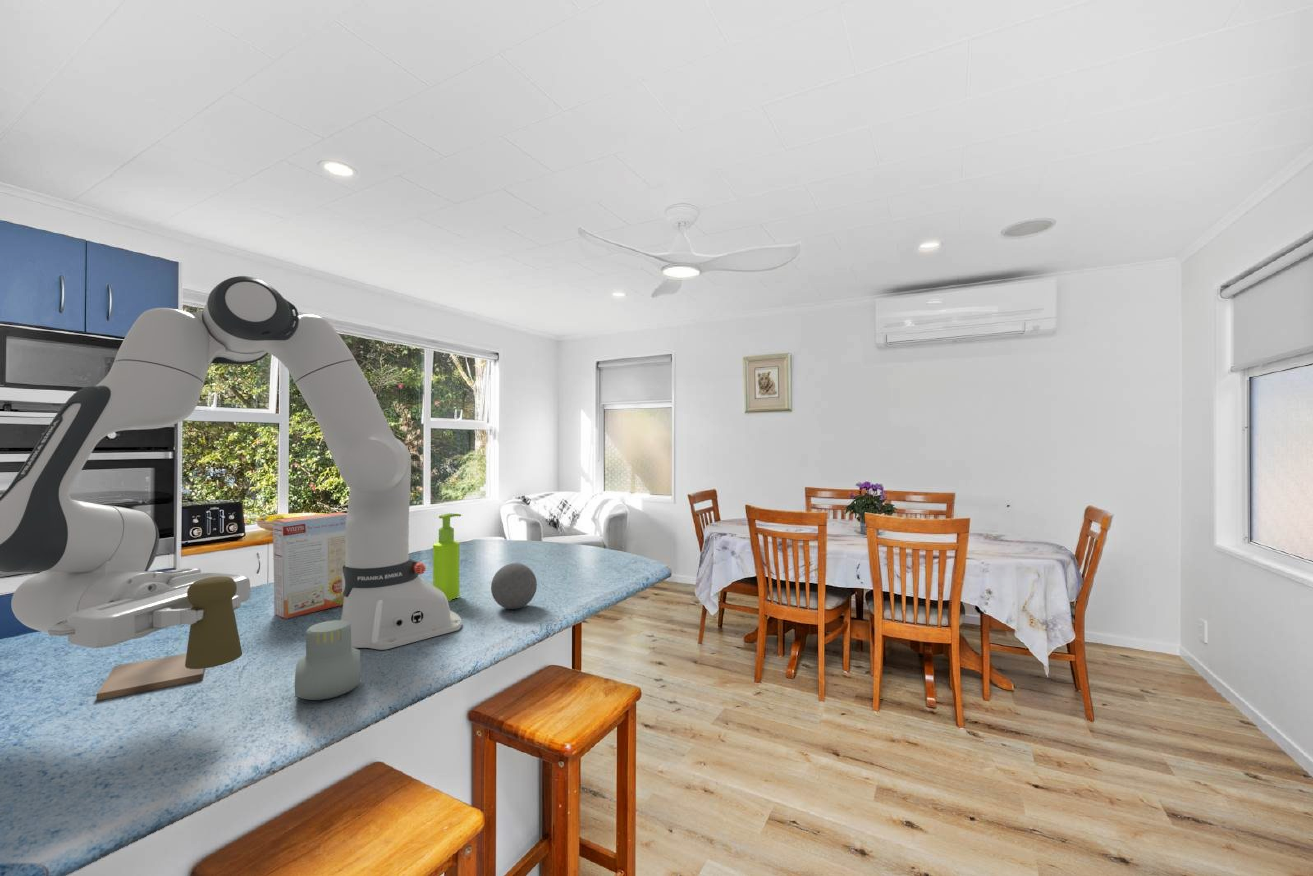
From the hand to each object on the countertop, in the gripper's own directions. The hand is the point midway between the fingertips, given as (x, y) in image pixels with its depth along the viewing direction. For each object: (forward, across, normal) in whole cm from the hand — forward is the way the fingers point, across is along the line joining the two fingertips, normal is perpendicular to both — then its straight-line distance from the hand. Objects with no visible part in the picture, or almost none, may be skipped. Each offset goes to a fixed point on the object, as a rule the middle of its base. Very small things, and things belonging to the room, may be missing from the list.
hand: (218, 609), depth 74 cm
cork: (-1, 0, +7) cm, 7 cm away
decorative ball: (+18, +54, +16) cm, 59 cm away
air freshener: (+7, +11, +16) cm, 21 cm away
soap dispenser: (-1, +59, +16) cm, 61 cm away
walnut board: (-24, +11, +15) cm, 31 cm away
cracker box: (-26, +46, +16) cm, 55 cm away
